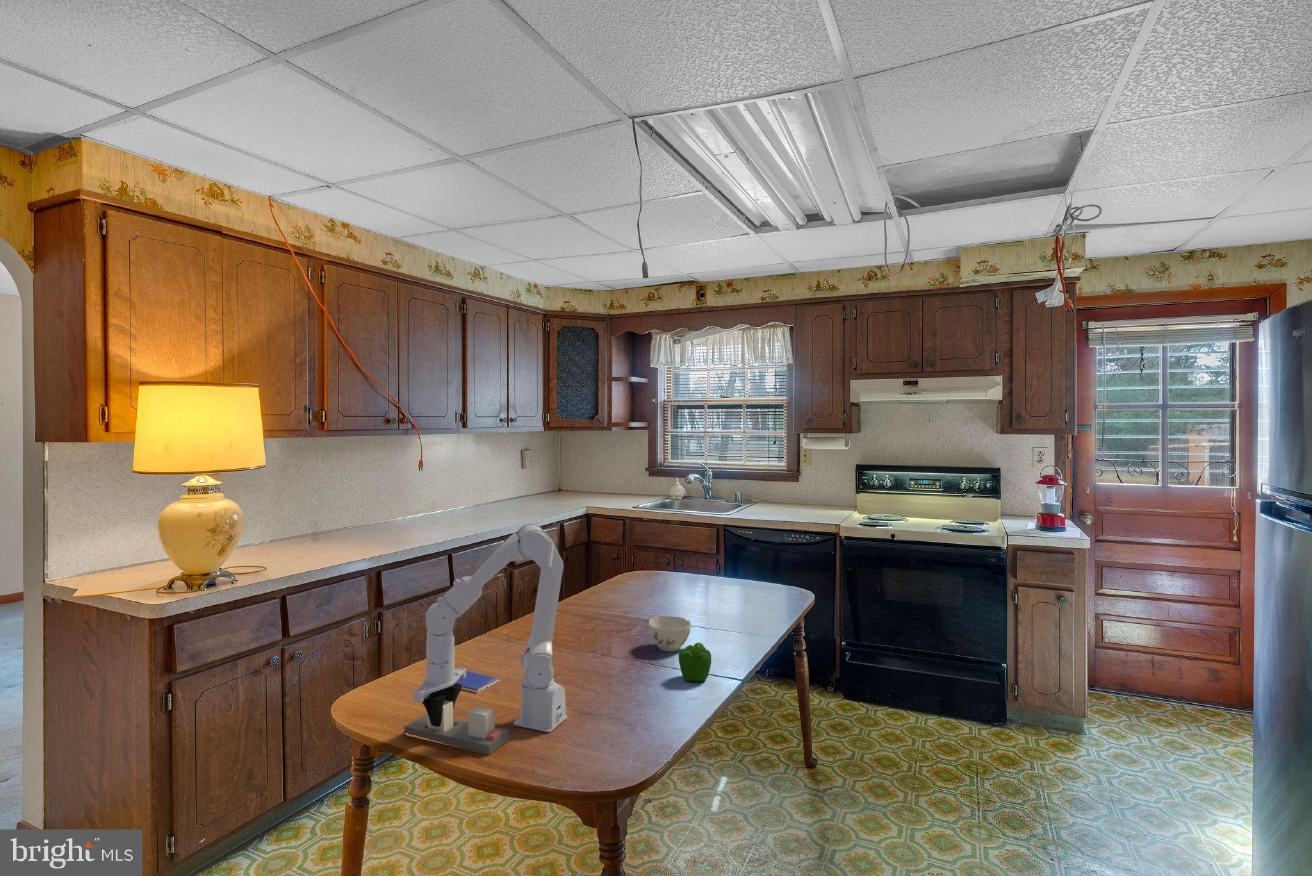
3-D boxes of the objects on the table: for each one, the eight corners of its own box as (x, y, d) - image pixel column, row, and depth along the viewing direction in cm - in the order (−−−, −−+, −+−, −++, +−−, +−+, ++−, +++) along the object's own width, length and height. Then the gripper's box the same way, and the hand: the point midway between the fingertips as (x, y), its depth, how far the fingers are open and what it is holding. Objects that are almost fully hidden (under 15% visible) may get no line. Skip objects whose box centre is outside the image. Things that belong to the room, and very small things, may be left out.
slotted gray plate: (509, 739, 140) (509, 707, 140) (489, 755, 134) (488, 721, 133) (427, 721, 148) (426, 691, 148) (404, 735, 142) (403, 703, 142)
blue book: (499, 677, 171) (464, 669, 177) (477, 689, 164) (441, 680, 170) (499, 683, 171) (464, 675, 177) (477, 695, 164) (441, 686, 170)
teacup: (676, 659, 186) (676, 631, 186) (640, 650, 193) (640, 623, 193) (702, 644, 199) (702, 617, 199) (668, 636, 206) (668, 611, 206)
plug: (453, 729, 143) (452, 701, 143) (443, 735, 140) (443, 707, 140) (437, 725, 145) (436, 698, 145) (427, 731, 142) (427, 704, 142)
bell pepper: (674, 675, 175) (674, 638, 174) (702, 671, 178) (702, 634, 177) (686, 687, 167) (686, 648, 167) (716, 682, 170) (716, 644, 170)
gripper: (448, 646, 150) (448, 705, 151) (401, 669, 137) (402, 733, 137) (473, 650, 148) (474, 710, 148) (428, 673, 134) (429, 739, 135)
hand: (441, 721), depth 142 cm, fingers closed on plug, 3 cm apart
